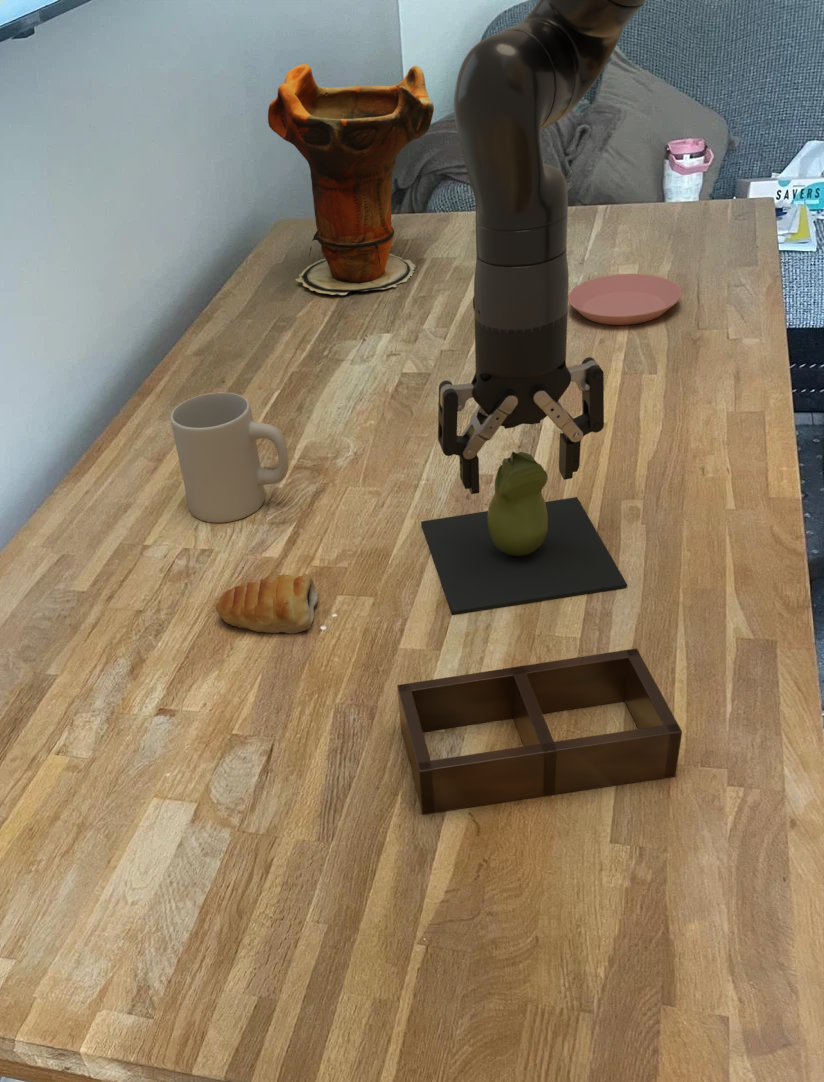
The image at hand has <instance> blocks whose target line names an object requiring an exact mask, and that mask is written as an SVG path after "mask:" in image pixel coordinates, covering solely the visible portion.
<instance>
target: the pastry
mask: <svg viewBox="0 0 824 1082" xmlns="http://www.w3.org/2000/svg"><path fill="white" fill-rule="evenodd" d="M318 597H319V594H318V590H317V587H316V585H315V581H314V580H313V578H312V577H311V576H310V575H309V574H307V573H303V574H302V575H290V574H275V573H274V574H273V573H272V574H269V575H267V576H266V577H264V578H262V579H257V580H255V581H252V582H250V581H248V582H247V581H246V582H243V583H241V584H240V585H236V586H234V587H232V588H229V589H227V590H226V591H225V592H224V593H223V594H222V595H221V597H220V598H219V600H218V602H217V603H216V604H215V610H216V612H217V614H218V615H219V616H220V618H221V619H222V620H223V621H224V622H225V623H226V624H229V625H231V626H232V627H238V628H239V629H247V630H250V631H252V632H257V633H261V632H263V633H267V634H268V633H269V634H272V633H273V634H279V633H285V634H298V633H301V632H305V631H307V630H309V629H310V628H311V626H312V624H313V620H314V618H315V616H314V614H315V612H314V611H315V610H314V607H315V606H316V605H317V603H318Z"/></svg>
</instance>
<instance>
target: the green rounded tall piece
mask: <svg viewBox="0 0 824 1082" xmlns="http://www.w3.org/2000/svg"><path fill="white" fill-rule="evenodd" d="M501 463H502V464H500V466H499V467H498V469H497V472H496V475H495V480H494V494H493V496H492V497H491V499H490V502H489V505H488V509H487V511H488V517H487V520H488V529H489V533H490V536H491V539H492V541H493V543H494V544H495V546H496V547H497V548H498V549H499V550H500V551H501V552H503V553H505V554H507V555H511V556H524V555H528V554H530V553H532V552H534V551H535V550H537V549H538V548H539V547H540V546H541V545H542V544H543V542H544V540H545V538H546V535H547V531H548V515H547V508H546V504H545V502H546V501H545V499H544V496H543V491H542V490H543V489H544V488H545V486H546V484H547V483H548V479H549V475H548V473H547V471H546V470H545V468H544V467H543V466H542V464H541V463H538V462H537V460H536V459H535V458H534V456H533V455H532V454H530V453H526V452H524V451H520V452H515V451H512V452H511V453H510V457H508V458H503V459H502V461H501Z"/></svg>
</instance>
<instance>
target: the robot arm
mask: <svg viewBox="0 0 824 1082" xmlns="http://www.w3.org/2000/svg"><path fill="white" fill-rule="evenodd" d="M647 1H648V0H538V1H537V3H536V5H534V7H533V8H532V10H531V11H530V12H529V13H528V15H527V16H526V17H524V19H523V20H522V22H520V23H518V24H515V25H513V26H511V27H509V28H506V29H504V30H502V31H499V32H497V33H495V34H492V35H490V36H488V37H486V38H484V39H482V40H480V41H479V42H477V44H475V45H474V46H473V47H472V48H471V49H470V50H469V52H468V53H467V54H466V55H465V57H464V59H463V60H462V63H461V66H460V68H459V71H458V75H457V78H456V84H455V88H454V96H453V97H454V98H453V99H454V100H453V114H454V123H455V129H456V133H457V137H458V140H459V145H460V149H461V153H462V157H463V161H464V166H465V169H466V173H467V178H468V182H469V184H470V187H471V190H472V193H473V196H474V200H475V245H476V246H475V247H476V248H475V252H476V255H475V256H476V257H475V258H476V259H475V269H474V277H473V279H474V280H473V297H472V308H473V311H474V314H473V315H474V351H475V352H474V357H475V361H474V363H475V370H474V371H475V372H474V376H473V377H472V379H471V382H470V383H461V384H460V383H459V384H453V383H452V382H451V381H450V380H445V379H444V380H443V381H441V382H440V383H439V385H438V407H437V408H438V410H437V413H438V415H437V441H438V443H439V446H440V448H441V451H442V453H443V455H444V456H446V457H451V456H458V457H459V478H460V480H461V483H462V485H463V488H464V489H465V490H469V492H470V494H471V495H477V494H479V493H480V459H479V456H478V453H479V452H480V451H481V449H482V448H483V446H484V445H485V444H486V442H487V441H490V440H491V439H492V438H493V437H494V436H495V435H496V433H497V431H498V430H499V429H500V427H503V428H504V429H506V430H507V429H513V428H516V427H518V426H522V425H539V424H541V421H542V420H544V419H546V418H549V419H550V421H552V423H553V424H554V425H555V426H556V427H557V428H558V429H559V430H560V431H561V432H560V433H559V443H558V444H559V445H558V446H559V447H558V472H559V474H560V475H561V477H562V478H563V480H570V479H571V480H572V479H573V477H574V473H577V472H578V470H579V468H580V466H581V465H580V464H581V463H580V460H581V442H582V440H583V438H584V437H585V436H586V435H588V434H590V433H595V434H596V433H600V432H601V431H602V430H603V429H604V426H605V393H604V392H605V388H604V384H605V382H604V381H605V380H604V379H605V378H604V376H605V375H604V374H605V373H604V370H603V369H602V368H601V366H600V364H599V363H598V361H596V360H595V358H594V357H591V356H588V357H586V358H584V359H583V361H582V362H581V364H577V365H572V366H567V340H568V314H569V313H568V311H569V310H568V309H569V301H568V296H569V286H570V285H569V283H570V281H569V277H570V276H569V275H570V274H569V265H568V255H567V254H568V253H567V251H568V250H567V247H568V246H567V245H568V243H567V241H568V212H569V192H568V190H569V189H568V183H567V180H566V177H565V175H564V173H563V172H562V171H561V170H560V169H559V168H557V167H555V166H553V165H550V164H547V163H544V159H543V152H542V146H541V130H543V129H545V128H547V127H550V126H551V125H553V124H555V123H557V122H559V121H560V120H561V119H563V118H564V117H566V116H567V115H568V114H569V113H570V112H572V110H573V109H575V108H576V106H577V105H578V104H580V102H581V101H582V100H583V99H584V97H585V96H586V95H587V94H588V92H590V90H591V88H592V87H593V86H594V84H595V83H596V82H597V80H598V79H599V77H600V75H601V73H602V72H603V70H604V68H605V66H606V65H607V63H608V62H609V59H610V58H611V56H612V54H613V53H614V51H615V49H616V47H617V45H618V43H619V41H620V40H621V38H622V36H623V33H624V31H625V29H626V28H627V25H628V23H629V22H630V21H631V20H632V19H633V18H634V17H635V16H636V14H637V13H638V12H639V11H640V9H642V7H643V6H644V5H645V3H646V2H647ZM571 382H574V384H575V386H576V387H577V389H578V390H579V391H581V412H582V413H581V414H580V415H577V416H576V417H573V416H572V415H571V414H570V413H569V412H568V411H567V409H566V408H565V407H564V406H563V404H562V403H561V402H560V399H561V398H562V396H563V395H564V393H565V392H566V391H567V389H568V388H569V386H570V385H571ZM470 399H473V400H474V402H475V403H476V404H477V407H476V409H475V410H474V412H473V413H472V415H471V417H470V419H469V423H468V424H467V426H466V427H465V429H464V430H463V432H462V433H461V435H458V414H459V412H462V411H463V410H464V409H465V407H466V403H467V402H468V400H470Z"/></svg>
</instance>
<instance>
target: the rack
mask: <svg viewBox="0 0 824 1082" xmlns="http://www.w3.org/2000/svg"><path fill="white" fill-rule="evenodd" d="M396 686H397V698H398V699H397V700H398V710H399V723H400V730H401V735H402V738H403V742H404V746H405V750H406V754H407V758H408V759H407V760H408V762H409V766H410V770H411V775H412V778H413V783H414V787H415V791H416V795H417V799H418V802H419V808H420V812H421V815H428V814H434V813H439V812H440V813H441V812H447V811H453V810H460V809H466V808H473V807H478V806H486V805H492V804H493V805H494V804H498V803H506V802H512V801H519V800H525V799H533V798H538V797H545V796H547V797H548V796H554V795H558V794H565V793H571V792H579V791H586V790H591V789H597V788H604V787H612V786H618V785H626V784H632V783H637V782H645V781H651V780H658V779H665V778H671V777H676V776H677V769H678V761H679V755H680V750H681V741H682V736H683V735H682V734H683V731H682V728H681V727H680V725H679V723H678V721H677V720H676V718H675V716H674V714H673V712H672V710H671V709H670V707H669V705H668V702H667V701H666V699H665V698H664V695H663V694H662V692H661V690H660V688H659V686H658V684H657V683H656V681H655V679H654V677H653V675H652V674H651V672H650V670H649V668H648V666H647V665H646V662H645V661H644V659H643V657H642V655H641V653H640V651H639V649H638V648H631V649H630V648H629V649H623V650H616V651H611V652H605V653H604V652H603V653H597V654H590V655H585V656H583V655H582V656H578V657H571V658H564V659H558V660H552V661H551V660H550V661H545V662H539V663H532V664H531V663H530V664H526V665H520V666H519V665H518V666H512V667H507V668H500V669H494V670H493V669H492V670H487V671H479V672H474V673H468V674H461V675H455V676H447V677H441V678H433V679H429V680H421V681H415V682H408V683H401V684H397V685H396ZM620 702H624V703H625V705H626V706H627V708H628V711H629V713H630V715H631V717H632V718H633V721H634V723H635V725H636V726H637V728H636V729H630V730H624V731H617V732H611V733H604V734H598V735H591V736H584V737H577V738H570V739H565V740H564V739H563V740H557V741H554V739H553V736H552V734H551V732H550V729H549V727H548V724H547V722H546V719H545V717H544V714H549V713H554V712H562V711H567V710H575V709H581V708H587V707H594V706H599V705H600V706H602V705H609V704H613V703H620ZM508 719H513V722H514V724H515V727H516V729H517V732H518V735H519V737H520V740H521V743H522V745H523V746H519V747H518V746H517V747H512V748H511V747H510V748H505V749H504V748H503V749H498V750H491V751H485V752H478V753H472V754H466V755H459V756H452V757H446V758H440V759H439V758H438V759H433V760H431V758H430V754H429V750H428V746H427V742H426V739H425V735H424V732H430V731H437V730H445V729H448V728H449V729H450V728H456V727H462V726H469V725H470V726H471V725H476V724H482V723H489V722H497V721H502V720H503V721H504V720H508Z"/></svg>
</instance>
